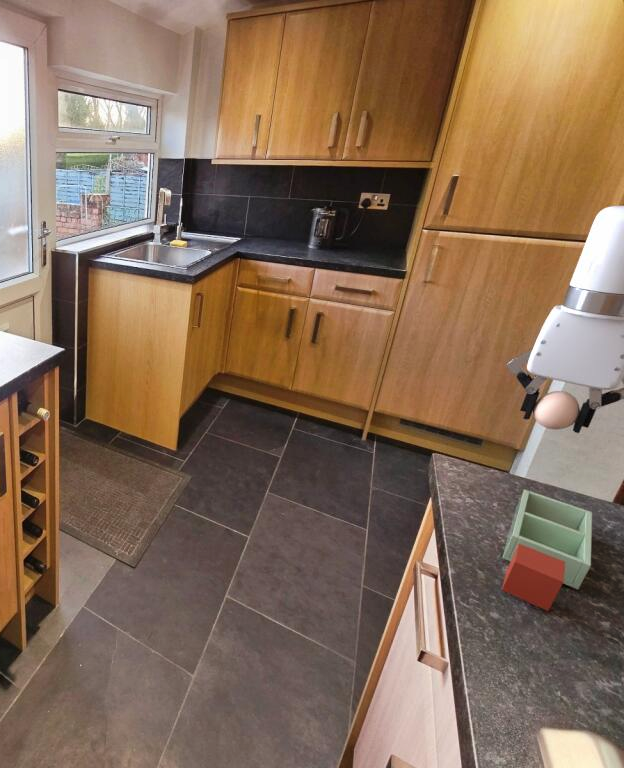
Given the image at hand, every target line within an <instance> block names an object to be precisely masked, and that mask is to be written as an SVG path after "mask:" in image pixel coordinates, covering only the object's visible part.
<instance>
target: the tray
mask: <svg viewBox="0 0 624 768" xmlns="http://www.w3.org/2000/svg"><path fill="white" fill-rule="evenodd" d="M592 532H593V512H592V511H590V510H587V509H583V508H581V507H577V506H575V505H572V504H569V503H567V502H563V501H560V500H558V499H555V498H551V497H549V496H545V495H542V494H540V493H537V492H533V491H531V490H528V489H523V490H522V493H521V495H520V498H519V500H518V503H517V504H516V507H515V511H514V514H513V518H512V521H511V525H510V528H509V531H508V535H507V539H506V542H505V546H504V550H503V554H502V559H503V560H506V561H509V563H510V562H511V560H512V558H513V555H514V553H515V551H516V549H517V547H518V544H521V545H524V546H526V547H529V548H531V549H534V550H536V551H539V552H541V553H544V554H546V555H549V556H552V557H554V558H557V559H559V560H562V561H564V562H565V571H564V582H563V584H564V585H566V586H568V587H571V588H573V589H576V590H579V589H580V588H581V585H582V583H583V582H584V580H585V578H586V576H587V574H588V573H589V571H590V569H591V567H592V539H593V538H592V537H593V535H592V534H593V533H592ZM563 584H562V585H563Z"/></svg>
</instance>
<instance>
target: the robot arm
mask: <svg viewBox="0 0 624 768" xmlns="http://www.w3.org/2000/svg"><path fill="white" fill-rule="evenodd" d="M526 363H527V365H526V369H527V371H526V370H525V369H524V367H523V365H525V364H526ZM505 367H506V368H507V369H508V370H509V372H510V373H512V375H513V376H515V378H516V379H517V381H518V382H519V383H520V385H521V387H522V388H523V389H524V391H525V393H526V394H525V396H524V399H523V402H522V403H521V407H520V410H519V411H520V412H524V415H523V417H522V419H523V420H530V418H531V416H532V414H533V409H534V406H535V404H536V402H537V401H538V398H539V396H540V394H541V392H540V387H541V386H542V385H543V384H544V383H545V382H546V381H547V380H548V379H550V380H554V381H559V382H563V383H567V384H573V385H576V386H582V387H586V388H588V397H589V398H587V399H586V401H585V402H583V403H582V405H581V407H580V414H579V417H578V419H577V421H576V422H575V423H574V424H573V427H572V432H574V433H576V434H580V432H581V430H582V427H583V428H588V429H589V427H590V424H591V423H592V420H593V418H594V415H595V414H596V412H597V410H599V409H600V408H602V407H605V406H609V405H611V404H614V403H617V402H619V401H621V400H624V387H621V388H619V389H617V388H618V387H619V386H620V384H621V383H622V384H623V385H624V205H615V206H614V205H611V206H608V207H605V208H603V209H601V210H600V211H599V212H598V213H597V215H596V216H595V218H594V220H593V222H592V225H591V227H590V230H589V233H588V236H587V238H586V240H585V243H584V245H583V249H582V252H581V254H580V256H579V259H578V261H577V264H576V267H575V269H574V272H573V274H572V277H571V279H570V282H569V285H568V288H567V291H566V293H565V296H564V298H563V301H562V303H561V305H555V306H554V307H553V309H551V311H550V313H549V314H548V316H547V317H546V319H545V321H544V323H543V325H542V327H541V329H540V332H539V334H538V336H537V338H536V341H535V343H534V345H533V348H531V349H529V350H527V351H525V352H524V353H521V354H520V355H517V356H516V357H513V358H512V359H510V360H509V361H508V362H507V363H506V364H505ZM528 372H529V373H528ZM530 374H532V375H534V376H533V377H531V375H530ZM603 390H604V391H605V390H606V392H604V393H603Z"/></svg>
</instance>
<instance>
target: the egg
mask: <svg viewBox="0 0 624 768" xmlns="http://www.w3.org/2000/svg"><path fill="white" fill-rule="evenodd" d="M580 410H581V407H580V404H579V402H578V400H577V398H576V397H575V396H574V395H572V394H571V393H570V392H567V391H564V390H554V391H550V392H548V393H546V394H544V395H543V396H541V397H539V399H537V401H536V404H535V406H534V409H533V411H532V414H533V415H532V416H533V418H534V420H535V421H536V422H537V423H538V424H539V425H540V426H541V427H544V428H546V429H549V430H556V431H557V430H564V429H567V428H569V427H572V426H574V424H575V422H576V421H577V419H578V417H579V414H580Z"/></svg>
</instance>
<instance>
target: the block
mask: <svg viewBox="0 0 624 768" xmlns="http://www.w3.org/2000/svg"><path fill="white" fill-rule="evenodd" d="M564 571H565V562H564V561H562V560H559V559H557V558H554V557H552V556H549V555H546V554H544V553H541V552H539V551H536V550H534V549H531V548H529V547H526V546H524V545H521V544H518V547H517V549H516V551H515V553H514V555H513V558H512V560H511V562H510V561H509V565H508V566H507V569H506V571H505V575H504V578H503V582H502V583H503V584H502V587H501V591H503V592H504V593H507V594H509V595H511V596H513V597H515V598H518V599H520V600H522V601H525V602H527V603H529V604H531V605H533V606H536V607H538V608H540V609H543V610H545V611H547V612H549V611H550V609H551V607H552V605H553V604H554V601H555V600H556V597H557V596H558V593H559V592H560V590H561V588H562V586H563V582H564Z"/></svg>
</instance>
